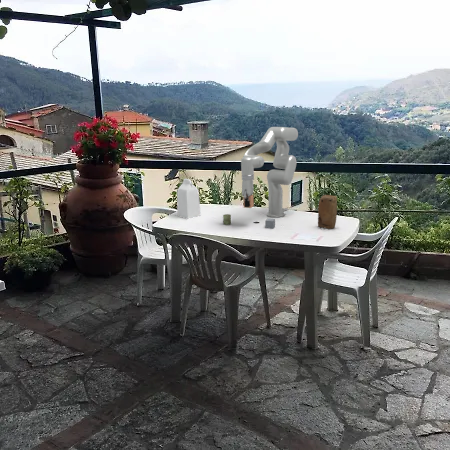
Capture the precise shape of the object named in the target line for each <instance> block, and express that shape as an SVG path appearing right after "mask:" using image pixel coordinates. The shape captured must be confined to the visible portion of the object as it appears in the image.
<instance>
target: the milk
mask: <svg viewBox="0 0 450 450" xmlns="http://www.w3.org/2000/svg"><path fill="white" fill-rule="evenodd" d="M176 192H177V196H176V197H177V198H176V199H177V201H176V203H177V209H176V212H177V214H176V215H177V216H176V217H179V216H180V217H179V218H182V217H183V219H186V218H187V220H190V219H194V218H198V217H201V216H202V213H201V203H200V195H199V194H200V192H199V189H198V188H197V186H195V185H194V184H193V182H192V180H191V179H188V178H184V179H183V181H182V183H181V184H180V185H179V187H178V189H177V190H176ZM193 217H194V218H193ZM189 218H190V219H189Z"/></svg>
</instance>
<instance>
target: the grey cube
mask: <svg viewBox="0 0 450 450" xmlns="http://www.w3.org/2000/svg"><path fill="white" fill-rule="evenodd" d="M264 221H265V225H264V227H265V228H264V229H270V230H271V229H272V230H274V229H275V228H276V218H267V219H265V220H264Z"/></svg>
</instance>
